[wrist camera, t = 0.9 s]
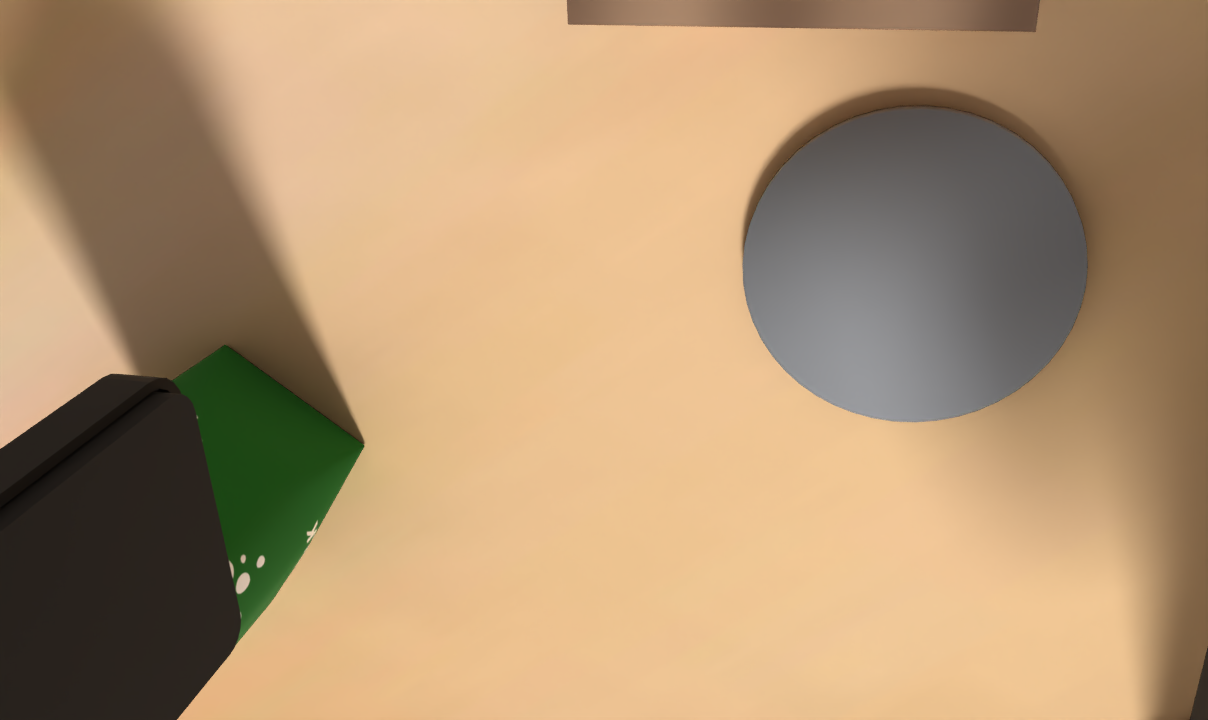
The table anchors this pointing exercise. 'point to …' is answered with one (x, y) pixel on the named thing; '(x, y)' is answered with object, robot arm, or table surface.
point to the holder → (812, 14)
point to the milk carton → (264, 470)
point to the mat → (915, 264)
